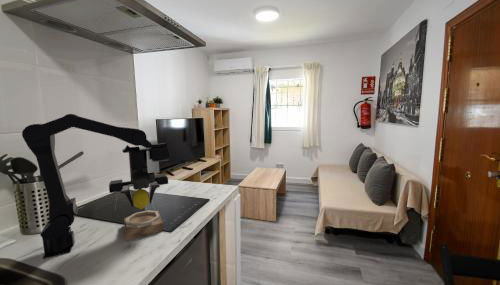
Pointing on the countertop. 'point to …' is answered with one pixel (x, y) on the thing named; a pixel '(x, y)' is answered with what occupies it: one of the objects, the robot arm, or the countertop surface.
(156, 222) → the wooden bowl
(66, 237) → the robot arm
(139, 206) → the lemon
